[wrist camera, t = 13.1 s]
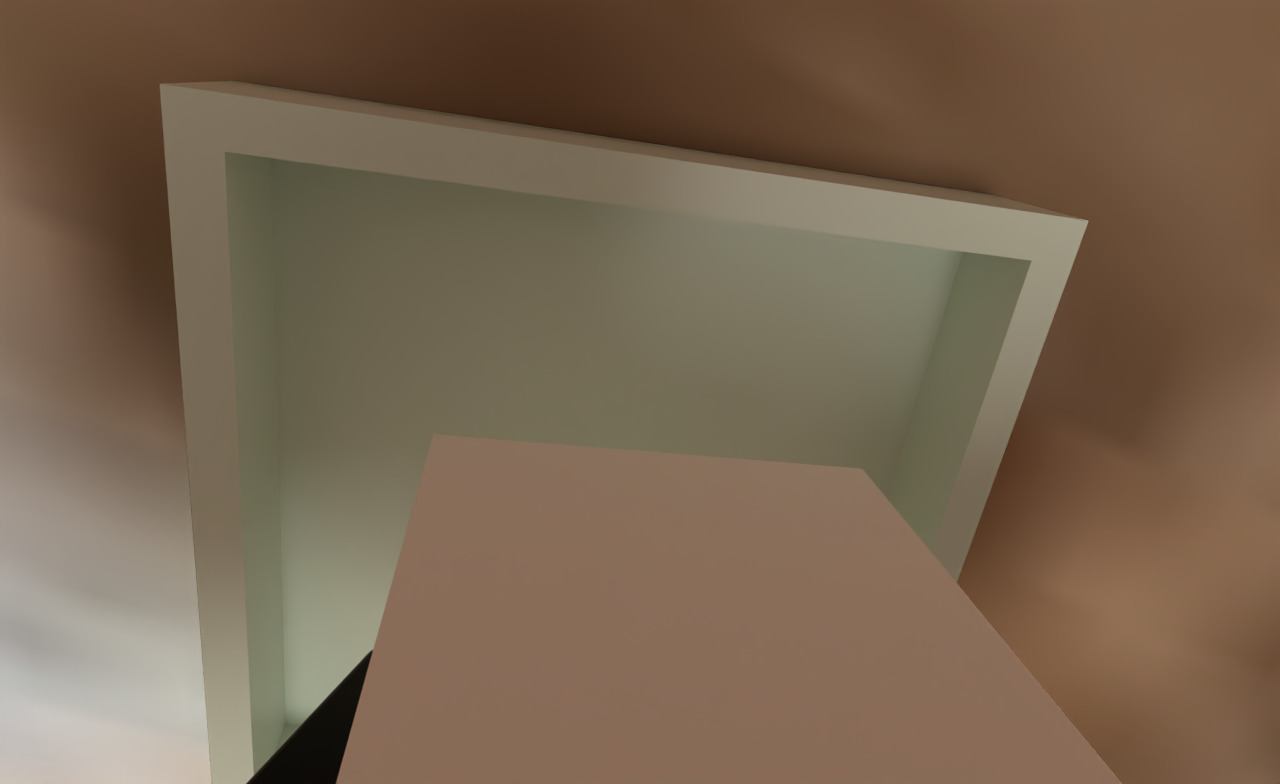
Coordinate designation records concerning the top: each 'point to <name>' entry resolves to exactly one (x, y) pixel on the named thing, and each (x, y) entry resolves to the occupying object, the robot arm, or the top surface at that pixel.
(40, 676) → the top surface
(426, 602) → the cream block
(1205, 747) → the top surface
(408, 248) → the tray
